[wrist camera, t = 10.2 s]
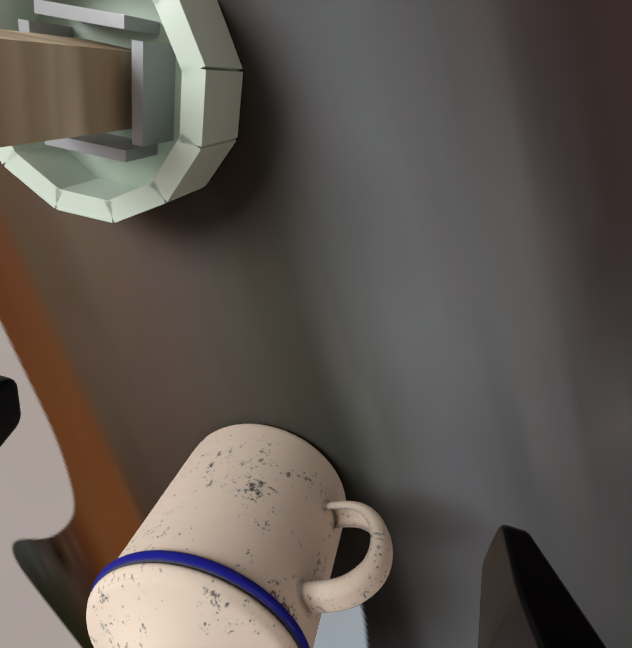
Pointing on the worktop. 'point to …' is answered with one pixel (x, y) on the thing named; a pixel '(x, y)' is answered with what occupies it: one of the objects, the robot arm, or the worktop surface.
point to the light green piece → (138, 105)
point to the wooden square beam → (61, 87)
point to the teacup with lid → (239, 551)
